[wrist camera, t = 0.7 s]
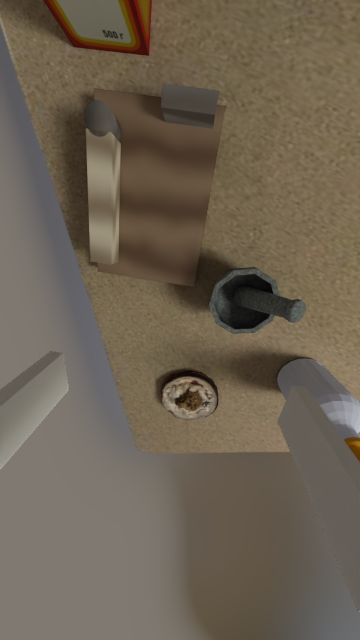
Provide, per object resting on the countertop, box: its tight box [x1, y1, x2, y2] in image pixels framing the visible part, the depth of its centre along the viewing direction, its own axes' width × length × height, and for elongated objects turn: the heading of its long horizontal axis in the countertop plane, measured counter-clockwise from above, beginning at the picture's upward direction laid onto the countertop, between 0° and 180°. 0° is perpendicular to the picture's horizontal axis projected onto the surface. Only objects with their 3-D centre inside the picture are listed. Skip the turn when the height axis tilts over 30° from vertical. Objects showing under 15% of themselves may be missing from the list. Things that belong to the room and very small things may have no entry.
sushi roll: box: [161, 369, 218, 420], centre depth 42 cm, size 15×15×4 cm
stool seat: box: [94, 84, 225, 287], centre depth 28 cm, size 22×16×6 cm
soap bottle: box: [277, 358, 360, 462], centre depth 28 cm, size 9×9×25 cm
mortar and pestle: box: [209, 267, 306, 334], centre depth 29 cm, size 11×9×12 cm
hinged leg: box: [85, 100, 122, 265], centre depth 27 cm, size 18×3×3 cm, turn 172°
